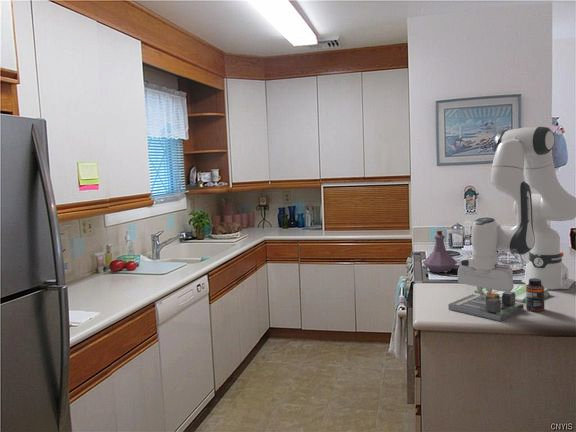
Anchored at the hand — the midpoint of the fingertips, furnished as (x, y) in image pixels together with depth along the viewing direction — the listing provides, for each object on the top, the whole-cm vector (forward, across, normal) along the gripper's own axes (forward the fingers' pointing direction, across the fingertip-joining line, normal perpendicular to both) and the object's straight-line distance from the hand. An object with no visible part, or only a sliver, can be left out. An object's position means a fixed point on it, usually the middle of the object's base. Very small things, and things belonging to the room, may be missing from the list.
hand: (484, 299), depth 178 cm
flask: (+4, +46, -40) cm, 61 cm away
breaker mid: (+2, -3, 0) cm, 4 cm away
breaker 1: (+2, -6, +6) cm, 9 cm away
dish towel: (+5, +2, -25) cm, 25 cm away
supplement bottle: (+4, -13, -11) cm, 18 cm away
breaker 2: (+2, -6, -6) cm, 9 cm away
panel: (+4, 0, 0) cm, 4 cm away
